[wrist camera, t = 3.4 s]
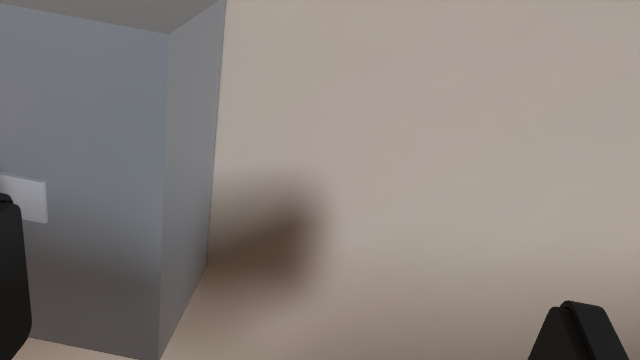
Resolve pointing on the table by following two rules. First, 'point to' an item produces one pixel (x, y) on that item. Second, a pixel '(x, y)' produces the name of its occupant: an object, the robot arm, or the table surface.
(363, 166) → the table surface
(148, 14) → the box
